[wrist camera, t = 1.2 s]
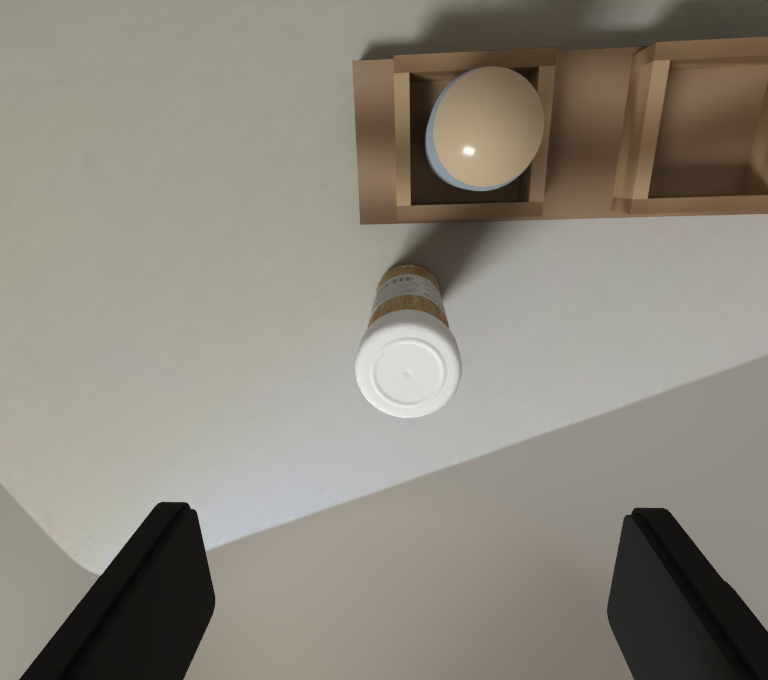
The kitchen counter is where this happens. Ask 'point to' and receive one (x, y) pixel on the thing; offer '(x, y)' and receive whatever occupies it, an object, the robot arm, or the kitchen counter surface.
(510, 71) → the spice pot
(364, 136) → the spice rail
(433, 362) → the sprinkles bottle
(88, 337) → the kitchen counter surface
